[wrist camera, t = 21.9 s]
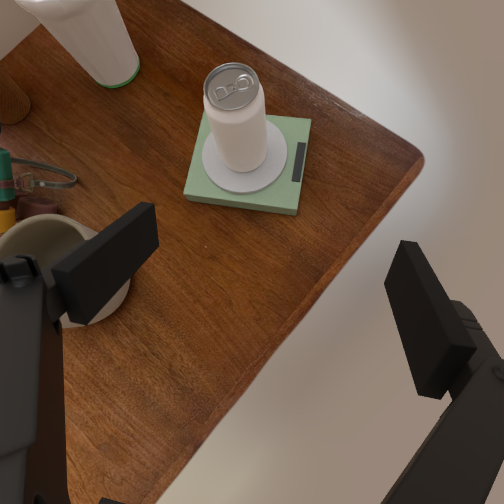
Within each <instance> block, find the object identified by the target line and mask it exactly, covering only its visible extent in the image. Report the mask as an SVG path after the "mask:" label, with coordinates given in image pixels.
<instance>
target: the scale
mask: <svg viewBox="0 0 504 504" xmlns="http://www.w3.org/2000/svg"><path fill="white" fill-rule="evenodd" d="M265 118H266V136H267V154H266V157H265V160H264V161H263V163H262V164H261V165H260V166H259V167H257V168H256V169H254V170H252V171H248V172H237V171H234V170H231V169H230V168H228V167H227V166H226V165H225V164H224V162H223V160H222V158H221V155H220V153H219V150H218V147H217V144H216V141H215V138H214V135H213V132H212V129H211V126H210V123H209V120H208V117H207V114H206V110H205V109H204V113H203V117H202V121H201V125H200V129H199V133H198V137H197V141H196V145H195V149H194V153H193V157H192V161H191V165H190V169H189V173H188V177H187V181H186V185H185V189H184V193H183V194H184V195H185V197H186V198H187V200H188V201H195V202H202V203H209V204H216V205H223V206H230V207H237V208H244V209H251V210H258V211H265V212H272V213H279V214H286V215H294V216H296V214H297V208H298V202H299V196H300V189H301V183H302V176H303V170H304V164H305V157H306V151H307V144H308V138H309V132H310V125H311V119H303V118H293V117H283V116H273V115H265Z"/></svg>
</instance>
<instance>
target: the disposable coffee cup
mask: <svg viewBox="0 0 504 504" xmlns="http://www.w3.org/2000/svg"><path fill="white" fill-rule="evenodd" d="M30 106H31V102H30V99H29V98H28V96H27V95H26V94H25V93H24V92H23V91H22V90H21V89H20V87H19V86H18V85H17V84H16V83H15V82H14V81H13V80H12V78H11V77H10V76H9V75H8V74H7V73H6V72H5V71H4V69H3V68H2V67H1V66H0V122H1V123H3V124H15V123H17V122H19V121H21V120H22V119H23V118H24V117H25V116H26V115H27V114H28V112H29V110H30Z"/></svg>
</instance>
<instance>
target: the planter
mask: <svg viewBox="0 0 504 504" xmlns="http://www.w3.org/2000/svg"><path fill="white" fill-rule="evenodd" d="M97 234H98V232H96V231H94V230H92V229H90V228H88V227H86V226H84V225H82V224H80V223H79V222H77V221H75V220H73V219H70V218H68V217H66V216H62V215H58V214H41V215H36V216H32V217H29V218H27V219H25V220H22V221H21V222H19V223H17V224H16V225H14V226H13V227H11V228H10V229H9V230H8V231H7V232H5V233H4V234H3V235H2V237H1V238H0V259H2V258H5V257H7V256H11V255H14V254H22V253H26V254H32V255H34V256H35V258H36V260H37V263H38V265H39V268H40V269H42V268H43V267H45V266H46V265H47V264H49V263H50V262H52V261H53V260H54V259H56V258H57V257H59V256H61V254H63V253H64V252H66V251H68V249H70V248H71V247H73V246H74V245H75V244H77V243H80V242H82V241H85V240H87V239H89V240H90V239H91V238H93V237H94V236H96V235H97ZM129 285H130V279H129V280H128V281H127V282H126V283H125V284H124V285H123V286H122V287H121V289H120V290H119V291H118V292H117V293H116V294H115V295H114V296H113V297H112V298H111V300H110V301H109V302H108V303H107V304H106V305H105V306H104V307H103V308H102V309H101V311H100V312H99V313H98V314H97V315H96V316H95V317H94V318H93V319H92V320H91V322H90V323H89V324H93V323H96V322H98V321H100V320H102V319H104V318H106V317H107V316H109V315H110V314H111V313H113V312H114V311H115V310H116V309H117V308H118V307H119V306H120V304H121V303H122V302H123V300H124V298H125V297H126V294H127V292H128V289H129ZM60 321H61V323H62V328H72V327H81V326H85V325H81V324H76V323H72V322H70V321H69V318H68V315H67V312H65V313H64V314H63V315H62V316H61V317H60ZM89 324H88V325H89Z"/></svg>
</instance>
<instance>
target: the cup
mask: <svg viewBox="0 0 504 504" xmlns="http://www.w3.org/2000/svg"><path fill="white" fill-rule="evenodd" d="M15 2H16V3H17V4H18V5H19V6H21V7H22V8H23V9H25V10H26V11H28V12H29V13H31V14H33V15H34V16H35V17H36V18H37V19H38V20H39V21H40V22H41V23H42V24H43V26H44V27H45V28H46V29H47V30H48V31H49V32H50V33H51V34H52V35H53V36H54V37H55V38H56V39H57V40H58V41H59V43H60V44H61V45H62V46H63V47H64V48H65V49H66V50H67V51H68V52H69V53H70V54H71V55H72V56H73V57H74V58H75V60H76V61H77V62H78V63H79V64H80V65H81V66H82V67H83V68H84V69H85V70H86V71H87V72H88V73H89V74H90V75H91V77H92V78H93V79H94V80H95V81H96V82H97V83H98V84H100V85H101V86H103V87H107V88H117V87H121V86H124V85H126V84H128V83H129V82H131V81H132V80H133V79H134V77H135V76H136V75H137V73H138V71H139V69H140V59H139V57H138V55H137V53H136V51H135V50H134V47H133V45H132V42H131V40H130V37H129V35H128V32H127V30H126V27H125V25H124V22H123V20H122V17H121V15H120V12H119V9H118V7H117V4H116V2H115V0H15Z"/></svg>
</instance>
